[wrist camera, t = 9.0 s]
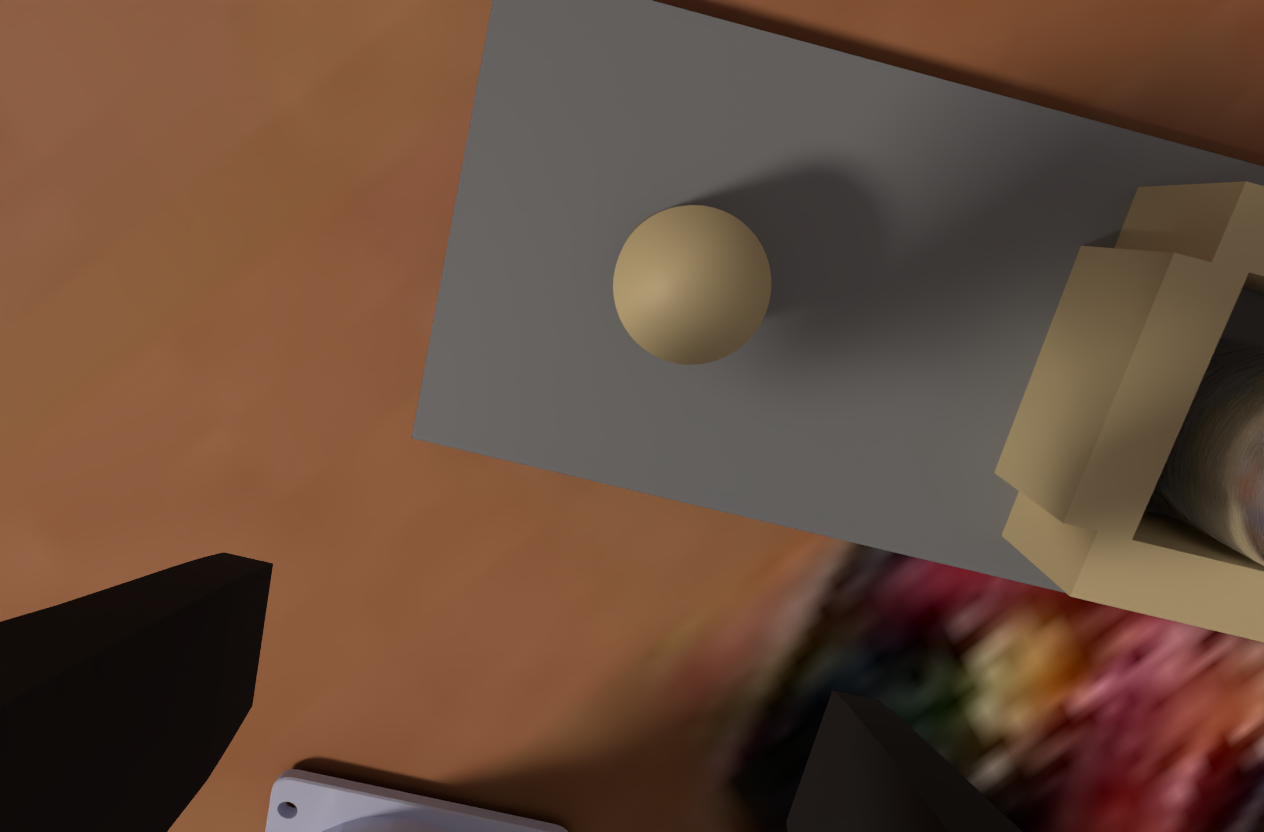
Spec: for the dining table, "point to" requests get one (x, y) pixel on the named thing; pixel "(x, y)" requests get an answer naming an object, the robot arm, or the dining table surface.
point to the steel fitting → (1222, 453)
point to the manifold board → (842, 300)
